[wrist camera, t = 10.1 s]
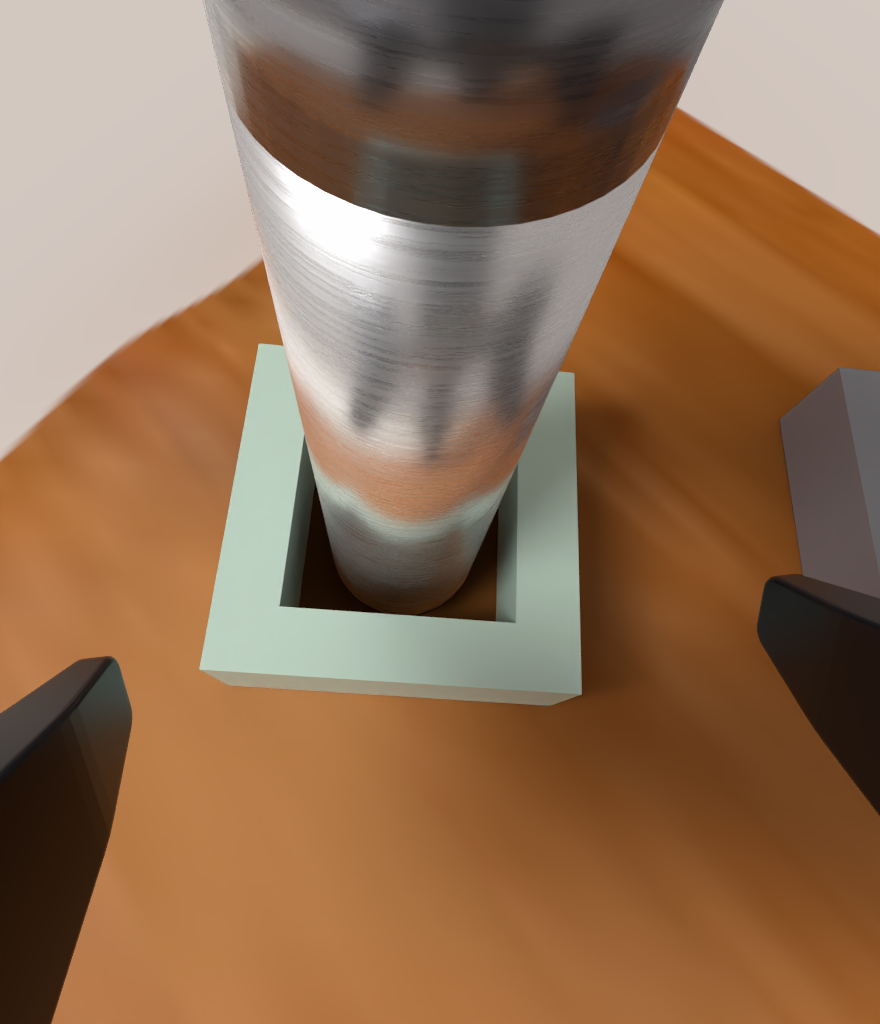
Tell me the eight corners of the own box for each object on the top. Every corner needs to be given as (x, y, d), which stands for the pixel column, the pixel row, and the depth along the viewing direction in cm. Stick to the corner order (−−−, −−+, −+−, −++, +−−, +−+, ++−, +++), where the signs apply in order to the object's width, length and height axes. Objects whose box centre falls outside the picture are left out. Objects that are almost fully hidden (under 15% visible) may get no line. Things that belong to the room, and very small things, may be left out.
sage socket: (550, 705, 18) (582, 694, 15) (229, 685, 17) (199, 669, 14) (548, 426, 21) (574, 373, 18) (275, 402, 20) (259, 343, 17)
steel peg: (499, 572, 19) (948, -170, 4) (374, 641, 18) (332, -2, 3) (430, 459, 20) (572, -459, 5) (308, 518, 19) (33, -404, 4)
